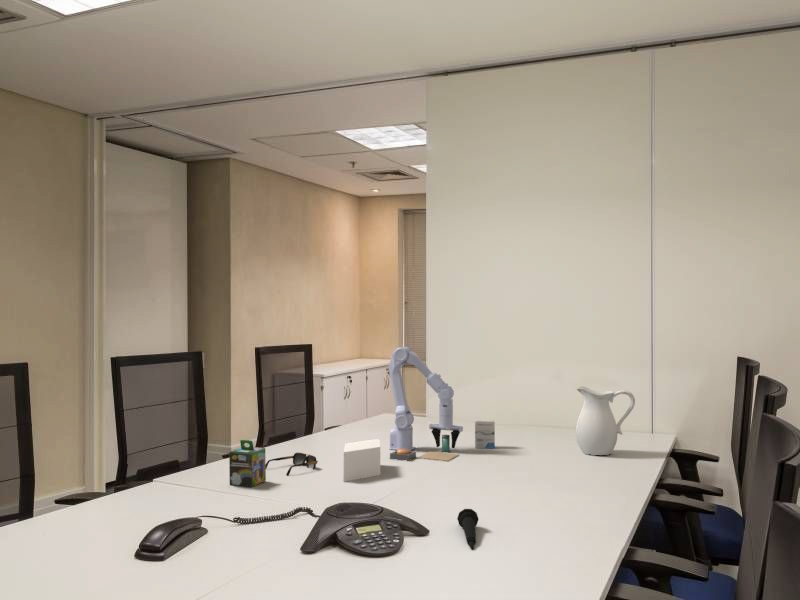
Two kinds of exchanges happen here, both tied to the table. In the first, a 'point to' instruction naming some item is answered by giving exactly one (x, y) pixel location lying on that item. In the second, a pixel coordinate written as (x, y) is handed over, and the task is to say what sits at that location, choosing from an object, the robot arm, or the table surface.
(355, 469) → the white rectangular block
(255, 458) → the chalk box
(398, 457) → the button frame
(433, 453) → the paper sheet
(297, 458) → the sunglasses
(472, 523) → the microphone
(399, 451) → the button
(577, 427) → the pitcher
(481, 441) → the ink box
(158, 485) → the table surface
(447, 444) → the cylindrical container
